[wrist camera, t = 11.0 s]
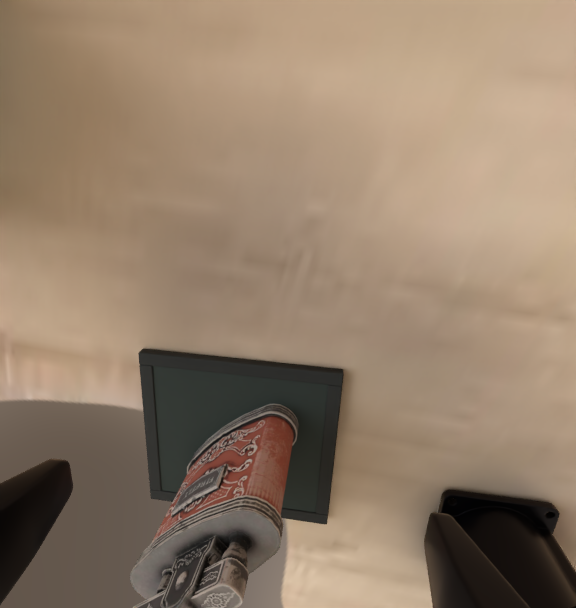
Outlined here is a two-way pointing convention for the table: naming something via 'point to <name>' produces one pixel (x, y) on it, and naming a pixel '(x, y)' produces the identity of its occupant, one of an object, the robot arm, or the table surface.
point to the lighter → (221, 516)
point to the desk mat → (231, 405)
